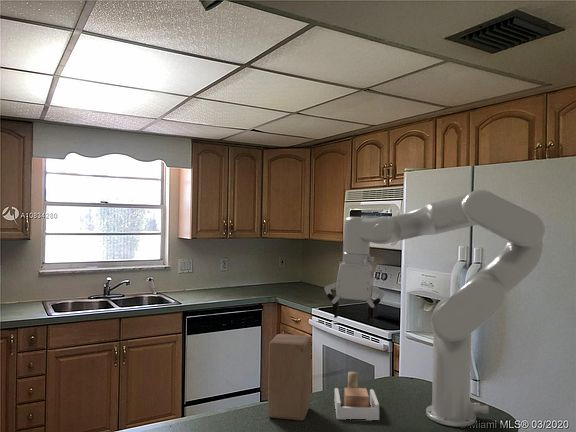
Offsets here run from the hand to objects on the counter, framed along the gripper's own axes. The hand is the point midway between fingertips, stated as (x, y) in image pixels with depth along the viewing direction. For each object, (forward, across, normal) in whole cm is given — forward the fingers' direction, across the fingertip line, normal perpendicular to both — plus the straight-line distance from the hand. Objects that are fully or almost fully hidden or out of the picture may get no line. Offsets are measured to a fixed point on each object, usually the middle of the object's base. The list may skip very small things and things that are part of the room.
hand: (352, 318), depth 136 cm
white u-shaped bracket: (+24, -3, +8) cm, 25 cm away
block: (+24, -2, +3) cm, 24 cm away
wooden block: (+24, +14, +14) cm, 31 cm away
